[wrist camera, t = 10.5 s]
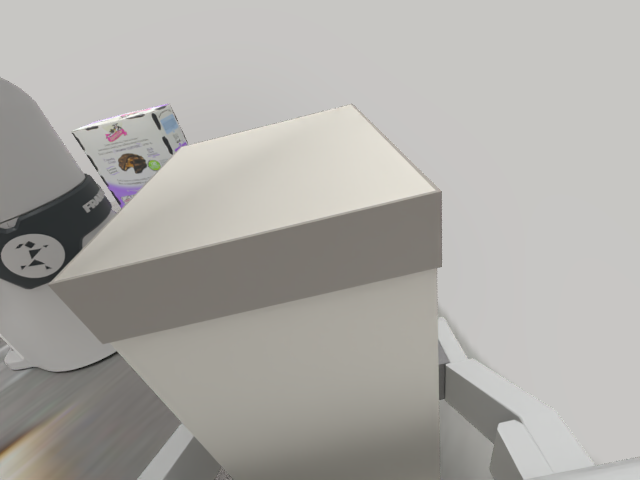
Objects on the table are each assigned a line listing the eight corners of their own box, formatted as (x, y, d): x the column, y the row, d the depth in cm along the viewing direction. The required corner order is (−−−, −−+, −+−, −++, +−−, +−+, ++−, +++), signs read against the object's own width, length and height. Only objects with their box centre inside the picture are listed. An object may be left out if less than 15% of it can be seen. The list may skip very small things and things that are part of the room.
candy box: (214, 196, 57) (171, 101, 48) (201, 213, 52) (151, 110, 43) (147, 208, 60) (94, 119, 51) (129, 224, 55) (68, 130, 46)
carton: (306, 563, 12) (47, 284, 4) (299, 401, 17) (181, 146, 9) (442, 537, 11) (441, 191, 4) (393, 381, 17) (351, 103, 9)
